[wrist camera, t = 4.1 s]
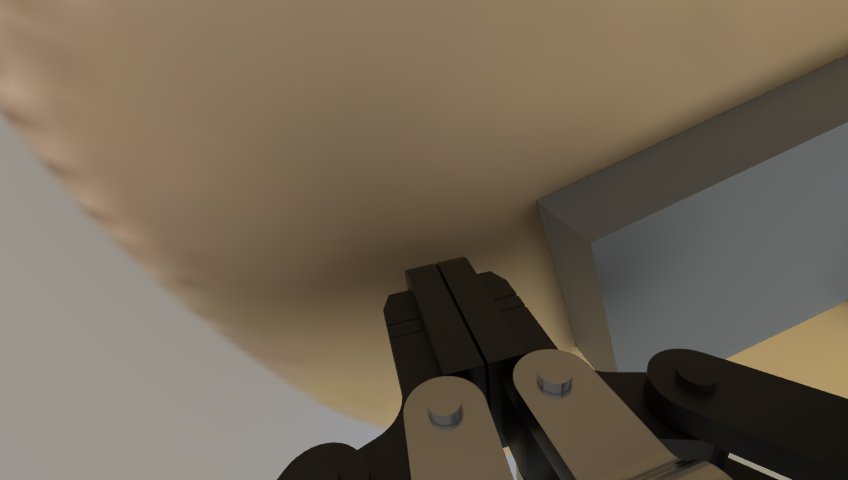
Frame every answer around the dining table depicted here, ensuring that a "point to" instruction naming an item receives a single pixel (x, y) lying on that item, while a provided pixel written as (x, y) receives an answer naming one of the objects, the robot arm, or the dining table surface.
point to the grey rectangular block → (710, 230)
